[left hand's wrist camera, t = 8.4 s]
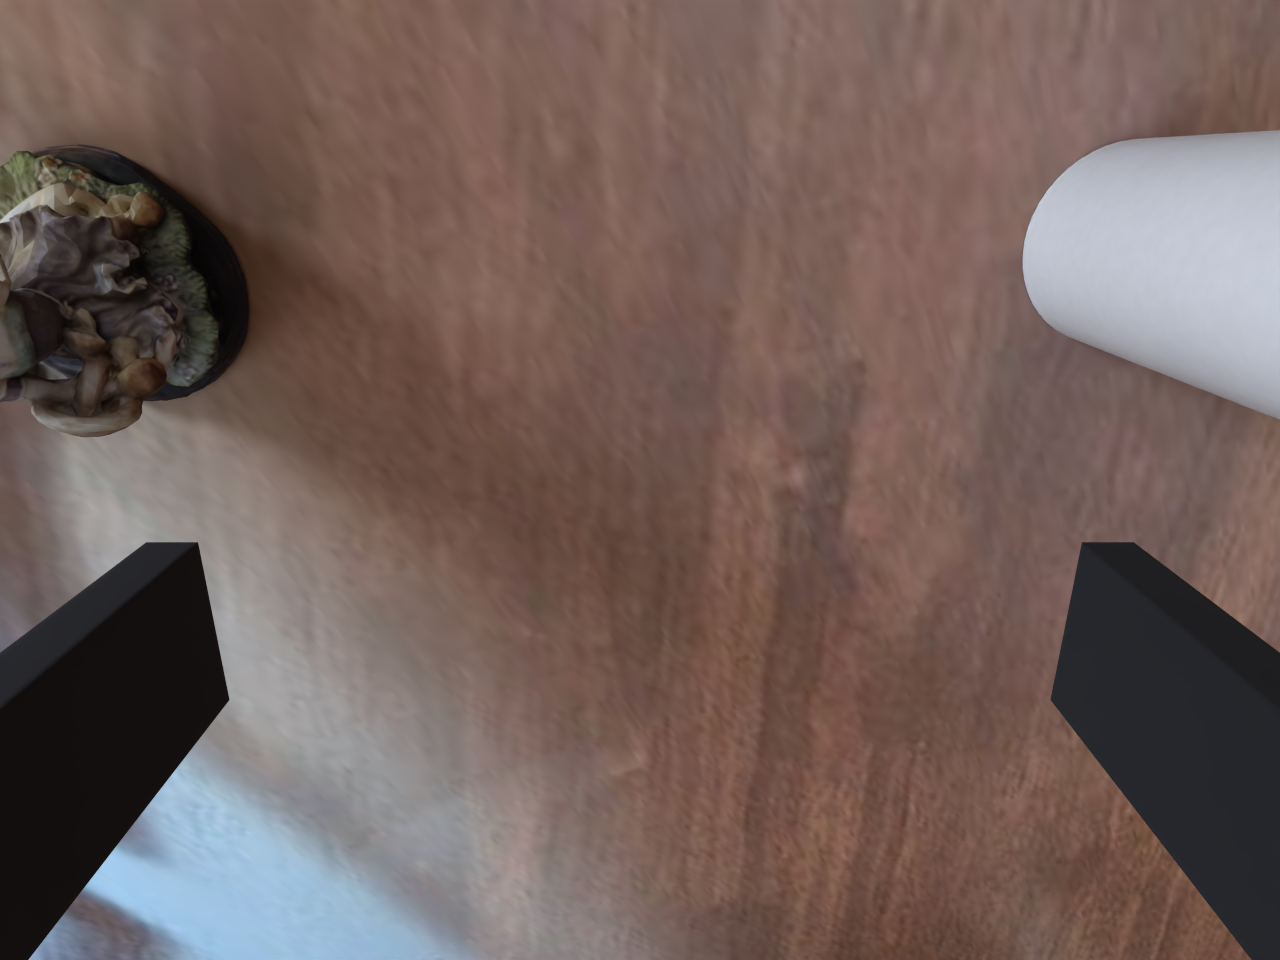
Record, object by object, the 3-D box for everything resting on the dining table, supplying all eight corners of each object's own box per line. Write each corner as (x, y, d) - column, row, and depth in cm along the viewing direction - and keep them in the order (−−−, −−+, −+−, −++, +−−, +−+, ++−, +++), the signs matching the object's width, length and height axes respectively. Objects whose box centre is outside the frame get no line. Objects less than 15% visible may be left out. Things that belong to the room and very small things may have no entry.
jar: (1143, 374, 40) (1527, 531, 23) (983, 295, 39) (1261, 396, 21) (1266, 194, 37) (1810, 215, 20) (1098, 101, 36) (1525, 38, 19)
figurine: (291, 345, 39) (97, 443, 25) (102, 438, 41) (-180, 579, 27) (137, 93, 36) (-192, 43, 22) (-65, 206, 37) (-493, 228, 23)
